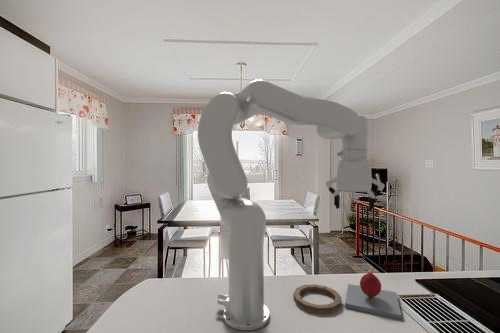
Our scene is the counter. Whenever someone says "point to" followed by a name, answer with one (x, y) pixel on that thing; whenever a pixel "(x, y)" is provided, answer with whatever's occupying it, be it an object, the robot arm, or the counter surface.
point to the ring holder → (314, 307)
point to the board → (373, 302)
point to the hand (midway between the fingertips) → (353, 209)
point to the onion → (370, 284)
